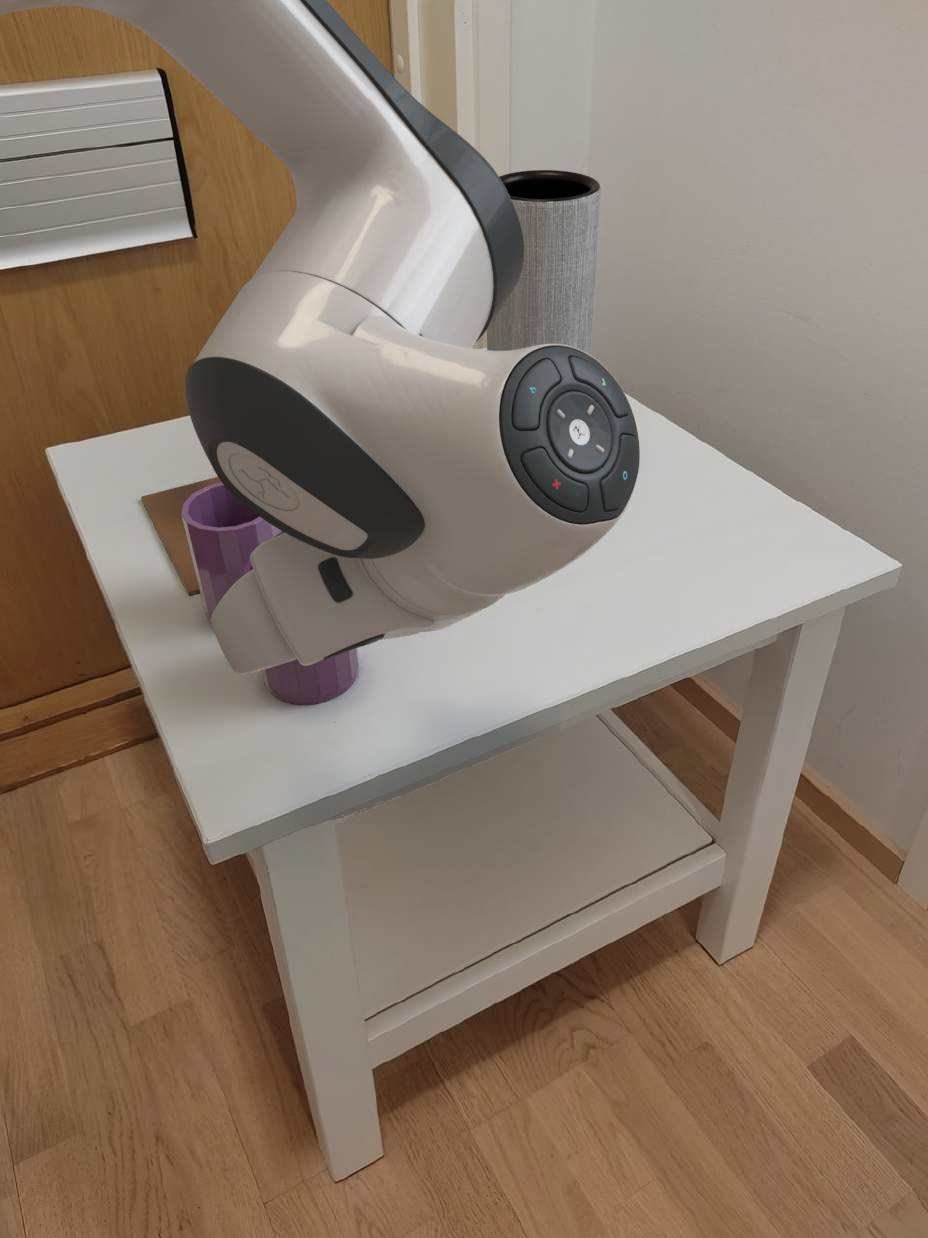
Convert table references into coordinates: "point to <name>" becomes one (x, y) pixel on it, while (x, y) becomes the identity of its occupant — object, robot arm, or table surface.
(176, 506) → the placemat
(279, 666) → the plum cup
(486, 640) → the table surface
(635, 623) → the table surface
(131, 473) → the table surface
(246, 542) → the mauve cup
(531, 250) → the vase
